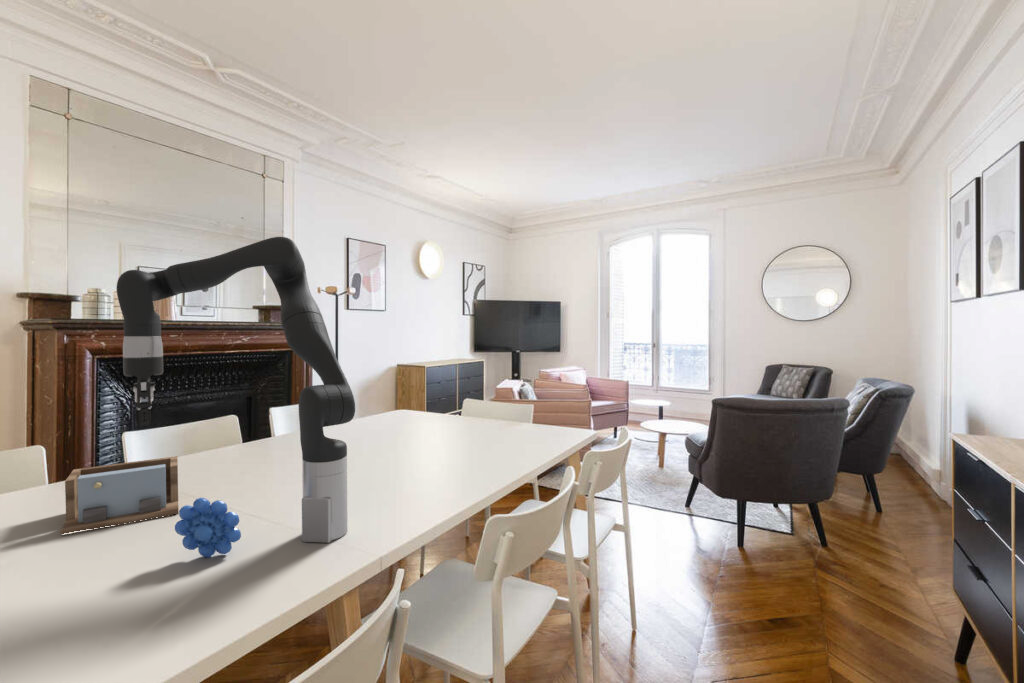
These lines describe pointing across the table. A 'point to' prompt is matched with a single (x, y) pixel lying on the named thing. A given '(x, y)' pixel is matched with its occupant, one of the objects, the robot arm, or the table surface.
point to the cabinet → (99, 514)
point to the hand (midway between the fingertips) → (145, 423)
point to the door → (121, 489)
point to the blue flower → (208, 527)
